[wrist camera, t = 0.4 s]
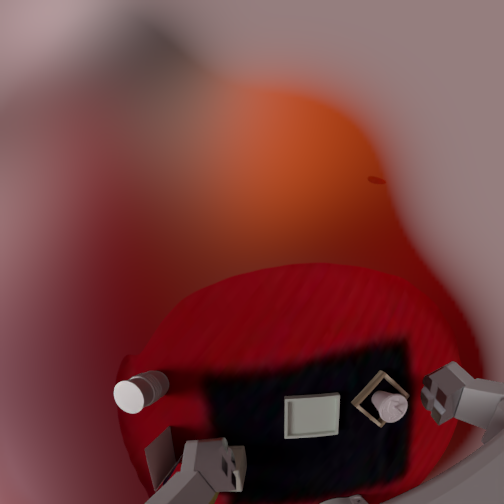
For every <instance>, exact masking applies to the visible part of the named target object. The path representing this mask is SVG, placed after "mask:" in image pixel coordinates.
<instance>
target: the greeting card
mask: <svg viewBox="0 0 504 504" xmlns="http://www.w3.org/2000/svg"><path fill="white" fill-rule="evenodd" d="M145 453H146V458H147V462H148V466H149V470H150V474H151V478H152V482H153V486H154V489H155V491H156V490H157V488H158V487H159V486H160V484H161V483H162V482H163V481H164V482H163V486H164V485H165V484H166V482H167V481H168V479H169V477H170V476H171V474H172V473H173V471H174V469H175V468H176V466H177V464H178V463H179V461H180V459H181V457H182V456H183V454H182V456H181V457H180V459H179V460H178V461H177V463H176V458H175V453H174V447H173V442H172V436H171V430H170V426H169V427H168V428H167V429H166V430H165V431H164V432H162V433H161V434H160V435H159V436H158V437H157V438H156V439H155V440H154V441H153V442H152V443H151V444H150V445H149V446H148V447H146V448H145ZM175 464H176V465H175ZM172 468H173V469H172ZM164 479H165V480H164Z"/></svg>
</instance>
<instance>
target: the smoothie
mask: <svg viewBox="0 0 504 504" xmlns="http://www.w3.org/2000/svg"><path fill="white" fill-rule="evenodd" d="M372 403H373V404H374V406H375V407H376V408H377V410H378V411H379V414H380V417H381V419H383V420H384V421H386V422H390V423H391V422H395V421H398V420H399V419H400V418H402V417H403V415H404V414H405V412H406V410H407V406H408V403H407V400H406V398H405V397H404V396H402V395H400V394H392V393H388V392H385V391H377V392H375V393H374V394H373V396H372Z"/></svg>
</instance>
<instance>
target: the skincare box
mask: <svg viewBox="0 0 504 504" xmlns="http://www.w3.org/2000/svg"><path fill="white" fill-rule="evenodd" d="M228 447H229V448H231V450H232V451H233V454H234V457H235V462H236V469H235V470H234V472H233V473H234V475H235V476H236V490H233V491H230V492H242V489H243V484H244V479H245V473H246V467H247V460H246V453H245V447H244V446H228Z"/></svg>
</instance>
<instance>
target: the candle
mask: <svg viewBox="0 0 504 504" xmlns="http://www.w3.org/2000/svg"><path fill="white" fill-rule="evenodd" d="M168 389H169V380H168V378H167V377H166V375H165V374H163V373H162V372H160V371H148V372H146V373H141V374H138V375H135V376H133V377H131V378H130V379H129V380H128V381H121V382H119V383H118V384H117V385H116V386H115V389H114V398H115V401H116V403H117V405H118V406H119V407H120V408H121V409H122V410H124V411H125V412H127V413H137V412H140V411H141V410H142V409H143V407H145V406H149V405H151V404H152V403H154V402H156V401H157V400H158V399H159V398H160V397H163V396H164V395H165V394H166V392H167V390H168Z"/></svg>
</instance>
